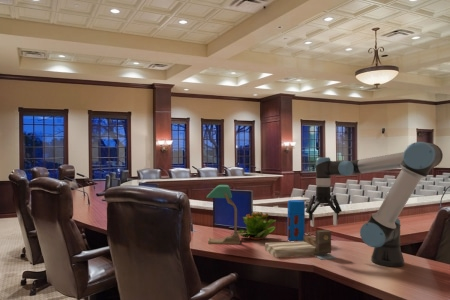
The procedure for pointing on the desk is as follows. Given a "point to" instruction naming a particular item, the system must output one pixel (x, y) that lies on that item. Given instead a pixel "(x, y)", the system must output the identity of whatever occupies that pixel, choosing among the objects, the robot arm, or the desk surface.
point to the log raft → (290, 249)
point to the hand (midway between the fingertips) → (323, 225)
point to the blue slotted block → (296, 220)
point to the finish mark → (325, 256)
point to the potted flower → (256, 226)
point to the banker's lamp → (225, 192)
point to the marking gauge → (319, 241)
